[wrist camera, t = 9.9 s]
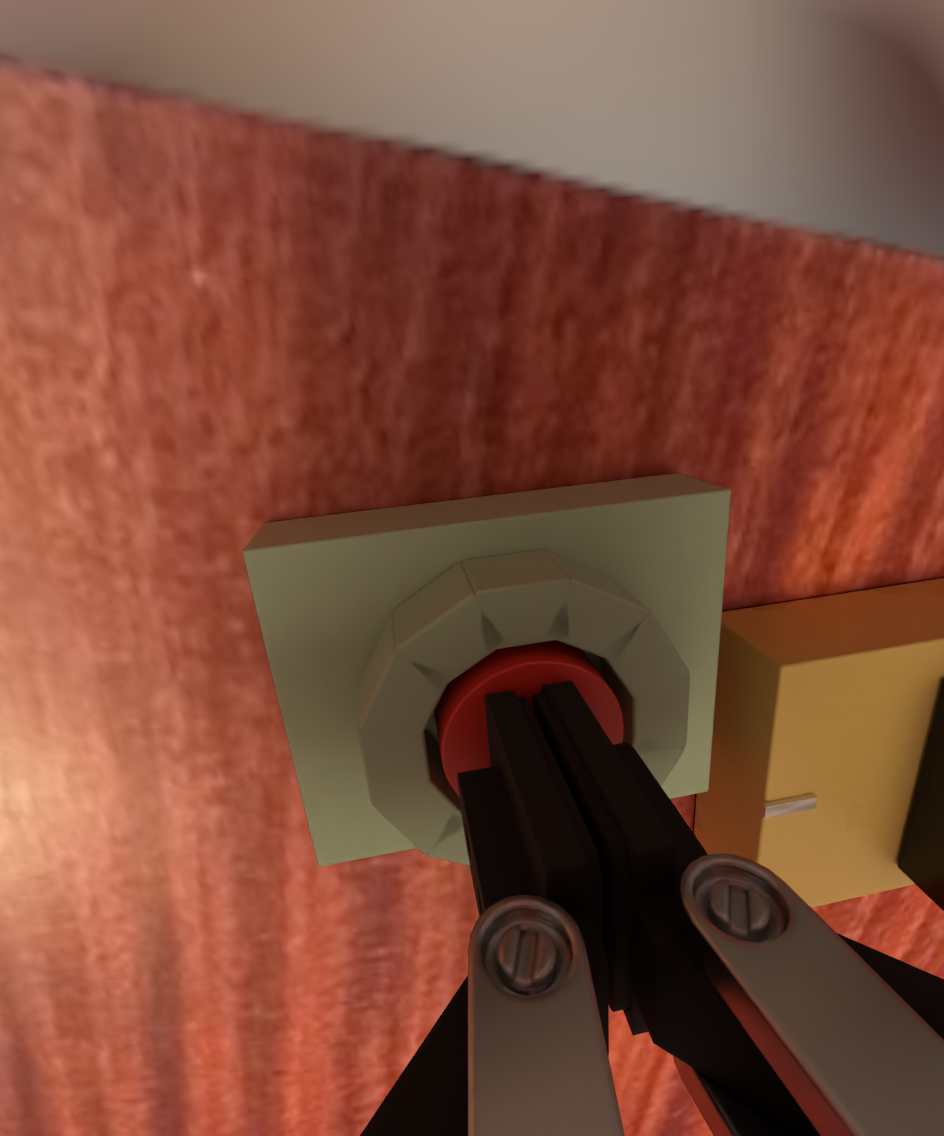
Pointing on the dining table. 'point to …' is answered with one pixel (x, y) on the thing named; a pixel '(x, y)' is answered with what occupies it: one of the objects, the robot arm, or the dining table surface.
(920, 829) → the block
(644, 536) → the button block
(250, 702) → the dining table surface
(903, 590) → the plate
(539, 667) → the release button
